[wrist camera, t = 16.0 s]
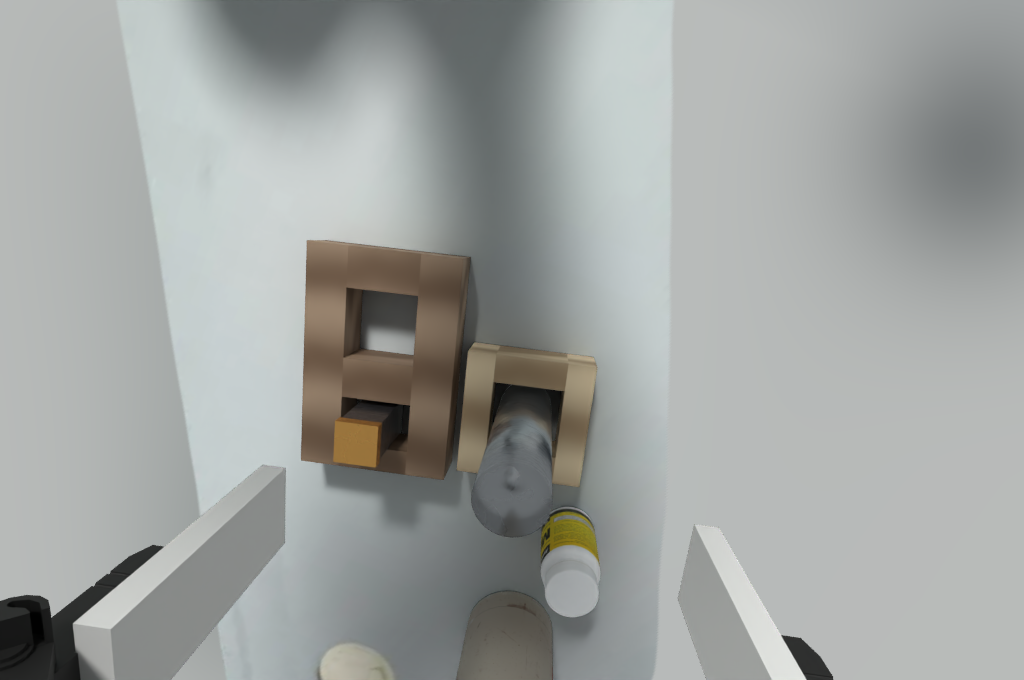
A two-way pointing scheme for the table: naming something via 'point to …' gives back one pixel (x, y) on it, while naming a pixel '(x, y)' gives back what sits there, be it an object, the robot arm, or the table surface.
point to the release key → (366, 432)
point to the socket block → (376, 374)
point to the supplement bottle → (570, 562)
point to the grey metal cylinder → (517, 465)
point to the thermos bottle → (507, 640)
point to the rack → (532, 371)
